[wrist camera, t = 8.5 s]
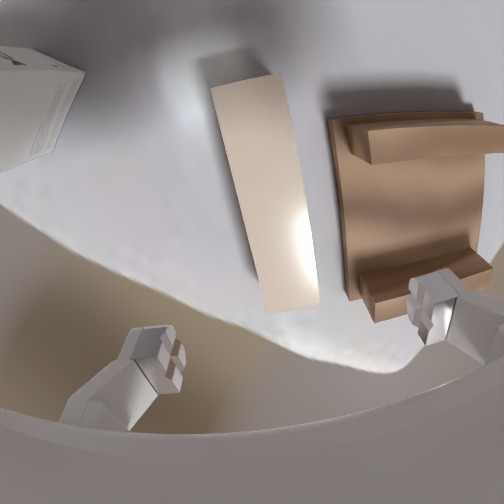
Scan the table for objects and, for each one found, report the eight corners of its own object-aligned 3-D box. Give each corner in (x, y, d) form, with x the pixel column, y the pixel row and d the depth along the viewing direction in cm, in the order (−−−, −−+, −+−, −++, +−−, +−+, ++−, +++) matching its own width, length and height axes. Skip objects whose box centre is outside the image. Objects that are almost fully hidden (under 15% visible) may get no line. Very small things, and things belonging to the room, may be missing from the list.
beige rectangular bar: (217, 91, 18) (209, 88, 15) (274, 79, 18) (280, 73, 14) (265, 284, 25) (267, 315, 22) (310, 275, 25) (320, 304, 22)
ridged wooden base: (327, 118, 19) (350, 124, 14) (474, 111, 17) (513, 119, 13) (345, 293, 26) (362, 330, 21) (467, 261, 24) (494, 288, 20)
